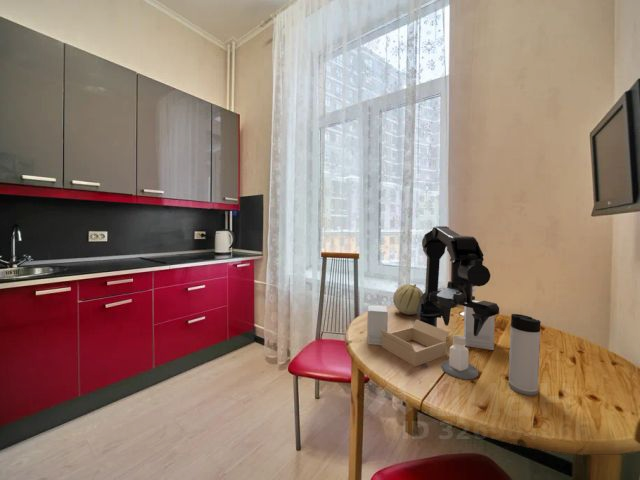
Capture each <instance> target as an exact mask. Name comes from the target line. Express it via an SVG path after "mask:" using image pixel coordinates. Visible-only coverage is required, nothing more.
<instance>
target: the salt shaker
mask: <svg viewBox="0 0 640 480" xmlns="http://www.w3.org/2000/svg"><path fill="white" fill-rule="evenodd" d="M452 338H453V339H452V345H451V346H450V347H449V355H448V356H449V358H448V360H449V365H450V367H452V368H454V369H456V370H458V371H463V370H465V369H467V368H468V364H469V349H468V348H467V347H466V345H465V337H464V335H463V336H462V335H459V334H454V335H453V337H452Z"/></svg>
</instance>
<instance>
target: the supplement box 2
mask: <svg viewBox="0 0 640 480" xmlns="http://www.w3.org/2000/svg"><path fill="white" fill-rule="evenodd" d="M472 301H473V302H480V301H481V300H472ZM466 304H467V303H466ZM463 307H464V309H463V310H464V311H463V312H464V316H463V337H465V347H468V348H469V347H470V348H476V349H477V348H478V349H483V350H490V351H494V350H495V319H496V318H495V316H496V315H494V316H491V317H489V318H488V319H487V320H486V322H485V323H484V325H483V327H482V328H481V330H480V332H479V334H478V335H477V336H474V317H473V316H472V314H474V313H475V312H474V311H473V308H469V307H466V306H463Z"/></svg>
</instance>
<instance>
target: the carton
mask: <svg viewBox="0 0 640 480" xmlns="http://www.w3.org/2000/svg"><path fill="white" fill-rule="evenodd" d="M380 331H381V332H382V334H383V335H382V345H381V347H382V349H384V350H385V351H388V352H390V353H391V354H393V355H395V356H397V357H399V358H400V359H402V360H403V361H405V362H406V363H409V364H410V365H412V366H414V367H417V366H420V365H424V364H425V363H428V362H431V361H434V360H436V359H438V358H442V357H445V356H447V343H448V342H447V341H446V340H447V338H448V336H449V332H450V331H448V330H445V329H443V328H439V327H435V326H432V325H429V324H427V323H424V322H422V321H420V320H419V319H415V321H414V324H413V325H412V326H411V327H408V328H404V329H400V330H395V331H392V332H388V331H387V332H386V331H384V330H382V329H380ZM410 340H413V341H415V342H416V343H419V344H420V345H423V346H425V347H423V348H421V349H417V350H415V348H414V347H413V346H412V344H411V343H409V342H408V341H410Z"/></svg>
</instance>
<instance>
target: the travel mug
mask: <svg viewBox="0 0 640 480" xmlns="http://www.w3.org/2000/svg"><path fill="white" fill-rule="evenodd" d="M510 322H511V323H510V332H509V335H510V336H509V359H508V361H509V363H508V364H509V365H508V386H509V388H511V390H512V391H515V392H516V393H517V394H518V393H519V394H521V395H525V396H530V397H531V396H532V397H533V396H537V394H539V375H540V374H539V372H540V352H541V351H540V350H541V320H539V319H535V318H533V317H531V316H528V315H524V314H519V313H512V314H511V317H510Z"/></svg>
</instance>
